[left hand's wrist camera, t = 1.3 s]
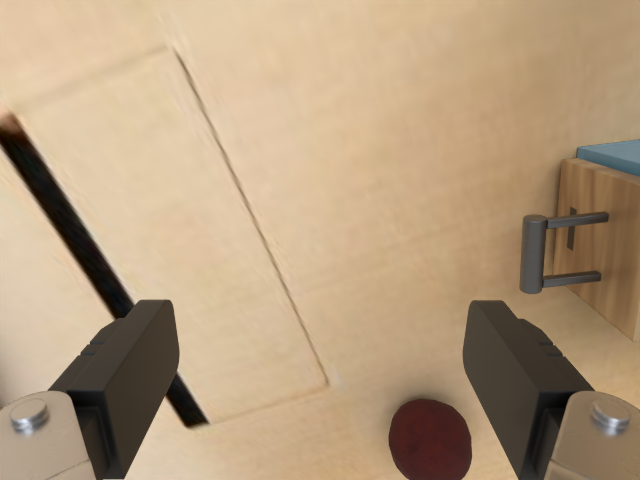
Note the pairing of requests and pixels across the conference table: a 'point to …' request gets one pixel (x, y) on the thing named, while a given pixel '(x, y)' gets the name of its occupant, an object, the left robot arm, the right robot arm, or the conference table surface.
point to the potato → (430, 441)
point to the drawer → (591, 243)
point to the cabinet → (614, 155)
